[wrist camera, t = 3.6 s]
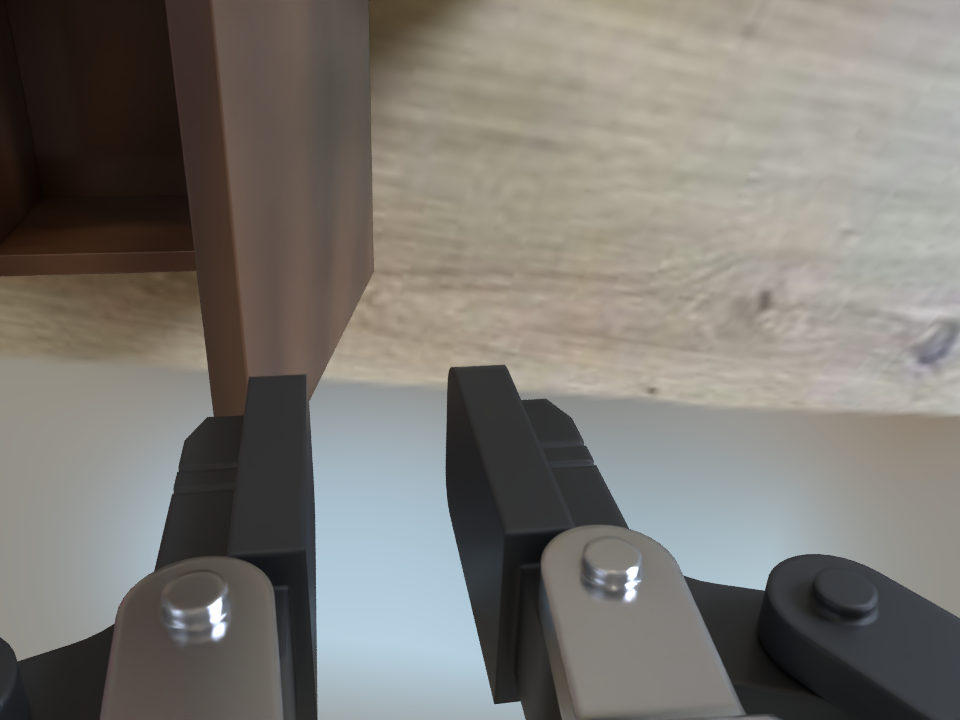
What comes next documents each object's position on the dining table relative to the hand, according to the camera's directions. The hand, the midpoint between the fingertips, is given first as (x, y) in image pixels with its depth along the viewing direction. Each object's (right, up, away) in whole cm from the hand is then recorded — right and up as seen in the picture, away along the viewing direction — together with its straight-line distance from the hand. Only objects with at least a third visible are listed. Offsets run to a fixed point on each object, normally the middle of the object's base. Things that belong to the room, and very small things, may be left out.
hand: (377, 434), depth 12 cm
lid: (-4, +6, +12) cm, 14 cm away
